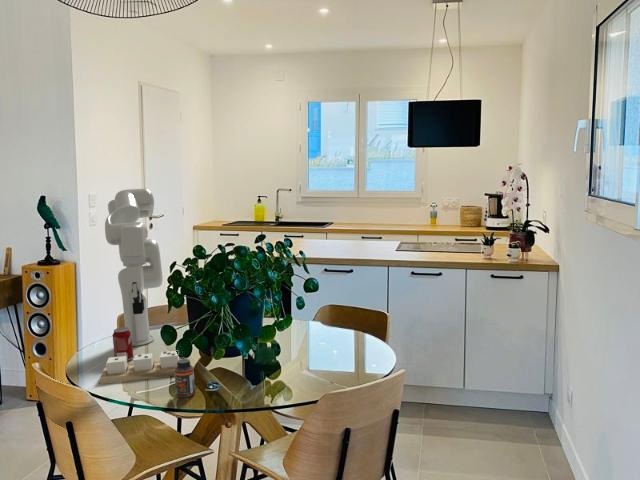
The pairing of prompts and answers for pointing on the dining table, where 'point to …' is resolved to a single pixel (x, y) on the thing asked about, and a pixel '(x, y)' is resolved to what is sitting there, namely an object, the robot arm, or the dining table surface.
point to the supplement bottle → (184, 379)
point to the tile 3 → (169, 359)
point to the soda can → (123, 343)
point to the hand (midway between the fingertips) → (138, 311)
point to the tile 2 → (143, 362)
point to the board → (137, 373)
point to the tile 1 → (116, 365)
